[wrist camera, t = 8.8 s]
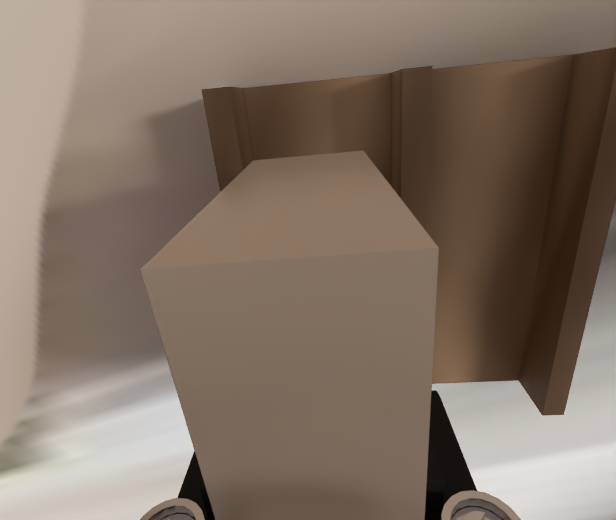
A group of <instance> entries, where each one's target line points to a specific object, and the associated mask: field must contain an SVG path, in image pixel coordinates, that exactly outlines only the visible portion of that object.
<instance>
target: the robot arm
mask: <svg viewBox="0 0 616 520" xmlns="http://www.w3.org/2000/svg"><path fill="white" fill-rule="evenodd" d="M140 520H215V517H214V513H213V510H212V507H211V503H210V500H209V497H208V493H207V490H206V487H205V483H204V480H203V477H202V473H201V470H200V467H199V463H198V460H197V457H196V453H195V451H194V454H193V457H192V459H191V462H190V465H189V468H188V470H187V473H186V476H185V479H184V482H183V484H182V487H181V490H180V493H179V495H178V498H175V499H171V500H167V501H164V502H162V503H161V504H159V505H157V506H155V507H153V508H152V509H151V510H150V511H148V512H147V513H146V514H145V515H144V516H143V517H142V518H141V519H140ZM425 520H521V519H520V518H519V517H518V516H517V515H516V513H515V512H514V511H513V510H512V509H511V508H510V507H509V506H508V505H506V504H505V503H504V502H502V501H501V500H499V499H498V498H496V497H494V496H491V495H489V494H487V493H484V492H479V491H477V490H476V487H475V484H474V482H473V479H472V477H471V474H470V472H469V469H468V467H467V464H466V462H465V459H464V457H463V454H462V451H461V449H460V446H459V444H458V441H457V439H456V436H455V434H454V431H453V429H452V426H451V424H450V421H449V418H448V416H447V413H446V411H445V408H444V406H443V403H442V401H441V398H440V396H439V394H438V392H437V391H431V407H430V427H429V446H428V465H427V484H426V503H425Z"/></svg>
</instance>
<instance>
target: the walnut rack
mask: <svg viewBox="0 0 616 520" xmlns="http://www.w3.org/2000/svg"><path fill="white" fill-rule="evenodd" d="M202 94H203V100H204V105H205V110H206V116H207V121H208V127H209V132H210V137H211V143H212V148H213V154H214V159H215V164H216V170H217V175H218V181H219V186H220V191H222V190H223V189H224V188H225V187H226V186H227V185H228V184H229V183H230V182H231V181H233V180H234V179H235V178H236V177H237V176H238V175H239V174H240V173H241V172H242V171H243V170H244V169H245V168H246V167H247V166H248V165H249V164H250V163H251V162H252V161H253V160H264V159H275V158H286V157H297V156H308V155H319V154H330V153H341V152H353V151H364V152H365V153H366V154H367V156H368V157H369V158H370V160H371V161H372V162H373V163H374V165H375V166H376V167H377V169H378V170H379V171H380V172H381V174H382V175H383V176H384V178H385V179H386V180H387V182H388V183H389V184H390V185H391V187H392V188H393V189H394V191H395V192H396V193H397V194H398V196H399V197H400V198H401V200H402V201H403V202H404V203H405V205H406V206H407V207H408V209H409V210H410V211H411V213H412V214H413V215H414V216H415V218H416V219H417V220H418V222H419V223H420V224H421V225H422V227H423V228H424V229H425V231H426V232H427V233H428V234H429V236H430V237H431V238H432V240H433V241H434V242H435V244H436V245H437V246H438V247H439V254H438V273H437V292H436V312H435V331H434V350H433V369H432V384H435V383H460V382H486V381H511V380H519V382H520V383H521V384H522V386H523V387H524V389H525V390H526V392H527V393H528V395H529V396H530V398H531V399H532V401H533V402H534V404H535V405H536V407H537V408H538V409H539V411H540V412H541V414H542V415H564V411H565V407H566V403H567V399H568V394H569V390H570V386H571V382H572V378H573V374H574V370H575V365H576V361H577V357H578V353H579V349H580V345H581V341H582V336H583V332H584V328H585V324H586V320H587V316H588V312H589V307H590V303H591V299H592V295H593V291H594V287H595V283H596V278H597V274H598V270H599V266H600V262H601V258H602V254H603V249H604V245H605V241H606V237H607V233H608V229H609V225H610V220H611V216H612V212H613V208H614V204H615V200H616V48H610V49H604V50H599V51H593V52H587V53H581V54H575V55H566V56H556V57H547V58H537V59H527V60H517V61H507V62H497V63H488V64H478V65H468V66H458V67H448V68H439V69H432V66H428V67H418V68H408V69H401V70H399V71H396V72H393V73H389V74H380V75H370V76H360V77H350V78H340V79H331V80H321V81H311V82H301V83H291V84H281V85H272V86H262V87H252V88H236V87H223V88H213V89H203V90H202Z"/></svg>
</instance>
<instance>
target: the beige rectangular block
mask: <svg viewBox="0 0 616 520" xmlns="http://www.w3.org/2000/svg"><path fill="white" fill-rule="evenodd" d="M438 254H439V247H438V246H437V245H436V244H435V242H434V241H433V240H432V238H431V237H430V236H429V234H428V233H427V232H426V231H425V229H424V228H423V227H422V225H421V224H420V223H419V222H418V220H417V219H416V218H415V216H414V215H413V214H412V213H411V211H410V210H409V209H408V207H407V206H406V205H405V203H404V202H403V201H402V200H401V198H400V197H399V196H398V194H397V193H396V192H395V191H394V189H393V188H392V187H391V185H390V184H389V183H388V182H387V180H386V179H385V178H384V176H383V175H382V174H381V172H380V171H379V170H378V169H377V167H376V166H375V165H374V163H373V162H372V161H371V160H370V158H369V157H368V156H367V154H366V153H365V152H364V151H353V152H341V153H330V154H319V155H308V156H297V157H286V158H275V159H264V160H253V161H252V162H251V163H250V164H249V165H248V166H247V167H246V168H245V169H244V170H243V171H242V172H241V173H240V174H239V175H238V176H237V177H236V178H235V179H234V180H233V181H231V182H230V183H229V184H228V185H227V186H226V187H225V188H224V189H223V190H222V191H221V192H220V193H219V194H218V195H217V196H216V197H215V198H214V199H213V200H212V201H211V202H210V203H209V204H208V205H207V206H206V207H204V208H203V209H202V210H201V211H200V212H199V213H198V214H197V215H196V216H195V217H194V218H193V219H192V220H191V221H190V222H189V223H188V224H187V225H186V226H185V227H184V228H183V229H182V230H181V231H180V232H178V233H177V234H176V235H175V236H174V237H173V238H172V239H171V240H170V241H169V242H168V243H167V244H166V245H165V246H164V247H163V248H162V249H161V250H160V251H159V252H158V253H157V254H156V255H155V256H154V257H152V258H151V259H150V260H149V261H148V262H147V263H146V264H145V265H144V266H143V267H142V268H141V269H140V270H141V274H142V277H143V280H144V284H145V287H146V290H147V294H148V297H149V300H150V304H151V307H152V310H153V314H154V317H155V320H156V324H157V327H158V330H159V334H160V337H161V340H162V344H163V347H164V350H165V354H166V357H167V360H168V364H169V367H170V370H171V373H172V377H173V380H174V383H175V387H176V390H177V393H178V397H179V400H180V403H181V407H182V410H183V413H184V417H185V420H186V423H187V427H188V430H189V433H190V437H191V440H192V443H193V447H194V450H195V453H196V457H197V460H198V463H199V467H200V470H201V473H202V477H203V480H204V483H205V487H206V490H207V493H208V497H209V500H210V503H211V507H212V510H213V513H214V517H215V520H425V503H426V484H427V465H428V446H429V427H430V407H431V388H432V369H433V350H434V331H435V312H436V292H437V273H438Z"/></svg>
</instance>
